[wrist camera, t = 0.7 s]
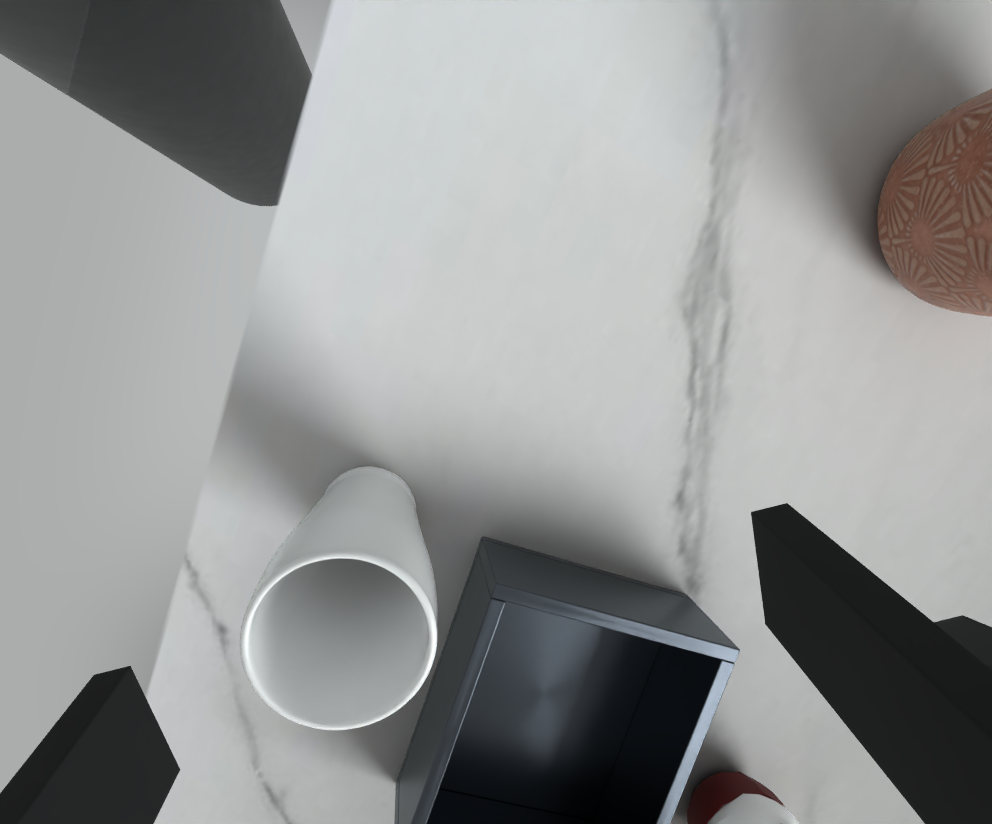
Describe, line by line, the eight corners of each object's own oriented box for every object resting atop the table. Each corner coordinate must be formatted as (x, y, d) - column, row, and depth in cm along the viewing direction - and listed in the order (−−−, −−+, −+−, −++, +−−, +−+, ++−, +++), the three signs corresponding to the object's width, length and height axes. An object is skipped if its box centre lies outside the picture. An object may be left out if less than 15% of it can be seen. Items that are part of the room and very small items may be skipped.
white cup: (297, 554, 36) (218, 720, 22) (321, 439, 35) (257, 531, 21) (414, 575, 37) (415, 747, 23) (440, 464, 37) (459, 568, 22)
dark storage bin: (481, 536, 38) (496, 583, 31) (687, 594, 40) (740, 649, 33) (395, 784, 39) (392, 877, 33) (597, 826, 42) (630, 921, 35)
